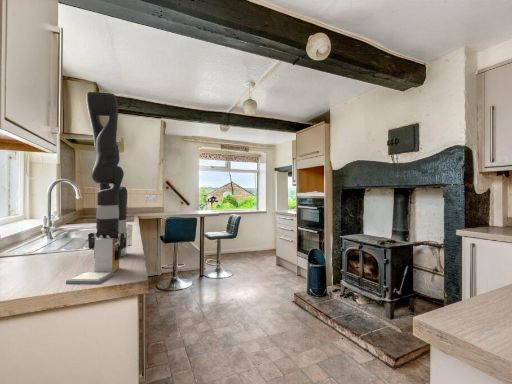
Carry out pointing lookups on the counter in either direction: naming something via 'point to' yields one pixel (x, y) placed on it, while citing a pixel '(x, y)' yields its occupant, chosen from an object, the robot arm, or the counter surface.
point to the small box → (105, 255)
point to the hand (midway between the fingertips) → (107, 259)
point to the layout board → (90, 278)
